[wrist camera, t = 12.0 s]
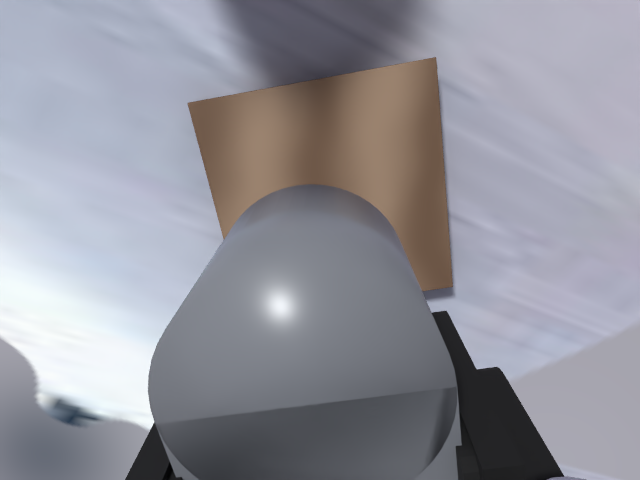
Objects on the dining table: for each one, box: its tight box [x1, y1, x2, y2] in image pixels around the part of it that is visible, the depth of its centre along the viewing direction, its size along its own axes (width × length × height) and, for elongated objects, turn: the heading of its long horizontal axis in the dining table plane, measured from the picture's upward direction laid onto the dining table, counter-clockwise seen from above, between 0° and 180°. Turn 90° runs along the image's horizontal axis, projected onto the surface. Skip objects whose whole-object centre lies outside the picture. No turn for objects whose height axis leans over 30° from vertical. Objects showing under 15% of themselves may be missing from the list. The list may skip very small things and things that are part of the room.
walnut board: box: [188, 57, 453, 291], centre depth 25 cm, size 13×13×2 cm
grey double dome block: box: [148, 184, 462, 480], centre depth 9 cm, size 4×11×4 cm, turn 10°
